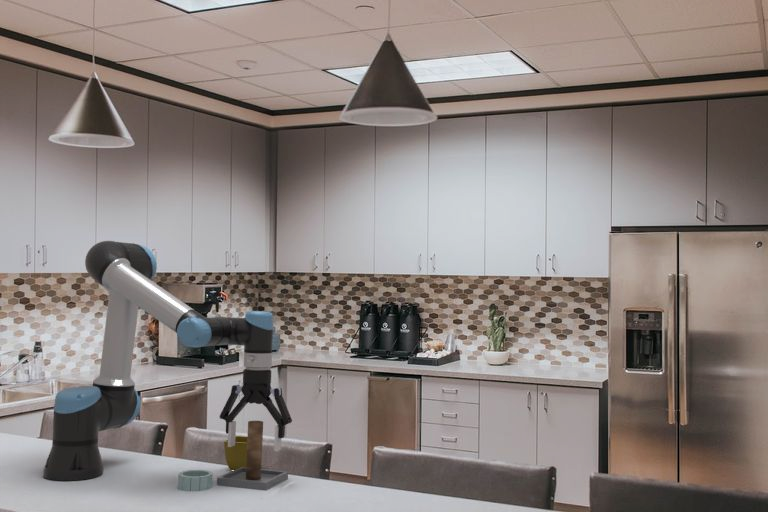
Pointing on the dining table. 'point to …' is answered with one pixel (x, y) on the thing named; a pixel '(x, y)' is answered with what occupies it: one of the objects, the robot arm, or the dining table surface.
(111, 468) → the dining table surface
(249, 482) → the tray
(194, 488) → the crock
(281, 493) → the dining table surface
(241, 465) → the flower pot
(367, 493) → the dining table surface
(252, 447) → the cylinder
